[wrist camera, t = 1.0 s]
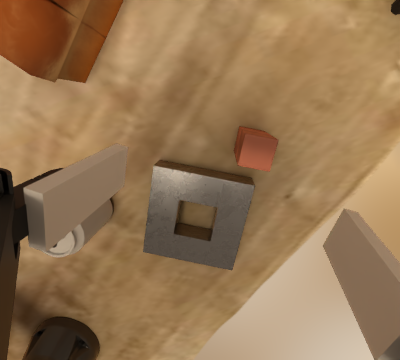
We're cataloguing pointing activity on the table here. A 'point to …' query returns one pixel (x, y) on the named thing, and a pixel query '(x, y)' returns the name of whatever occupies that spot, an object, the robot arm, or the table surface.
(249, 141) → the peg
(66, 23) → the bread
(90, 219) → the can
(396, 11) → the solar garden light
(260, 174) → the table surface
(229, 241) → the socket block
